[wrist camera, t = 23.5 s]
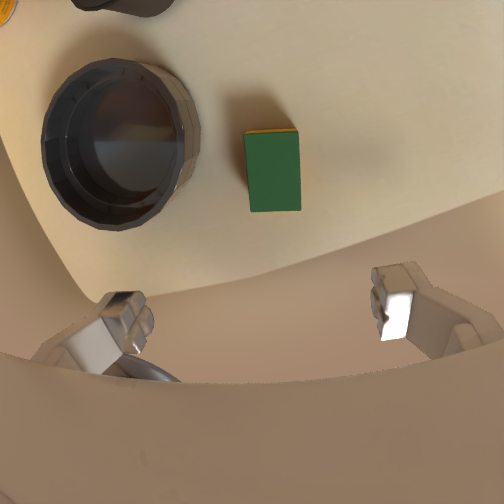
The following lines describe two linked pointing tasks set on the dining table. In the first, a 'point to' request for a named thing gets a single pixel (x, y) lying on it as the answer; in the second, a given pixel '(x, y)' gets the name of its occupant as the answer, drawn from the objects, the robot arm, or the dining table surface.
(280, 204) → the sponge
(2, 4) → the beer can
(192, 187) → the dining table surface
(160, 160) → the bowl
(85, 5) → the coffee cup
